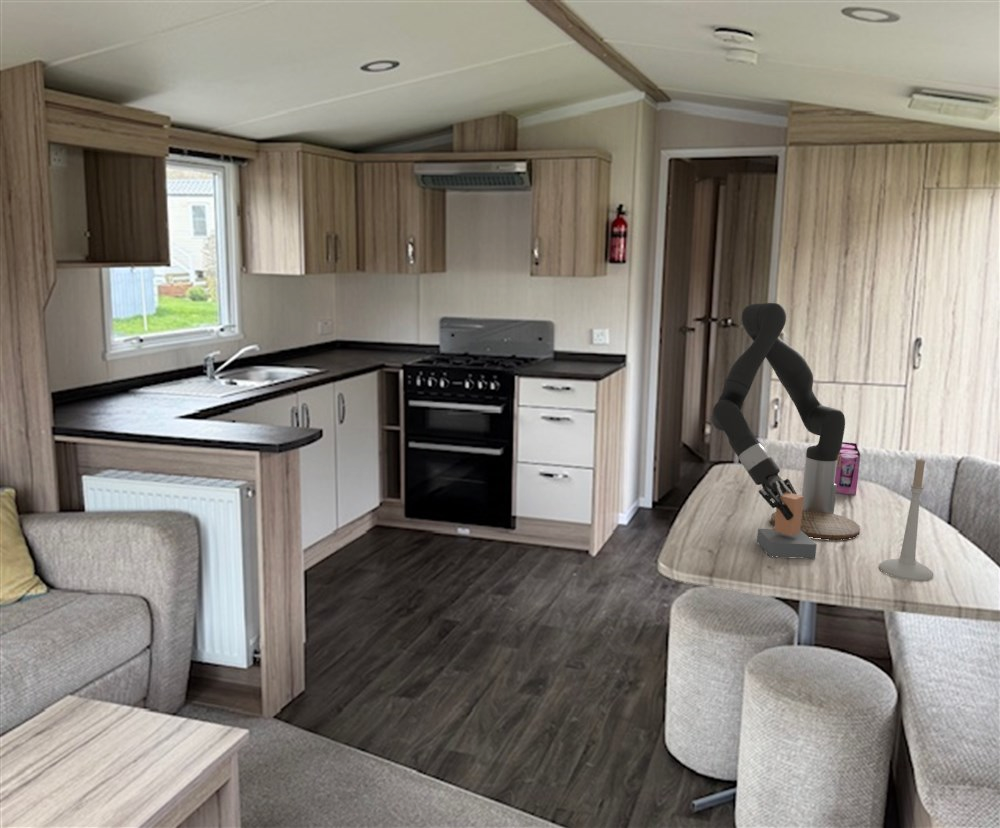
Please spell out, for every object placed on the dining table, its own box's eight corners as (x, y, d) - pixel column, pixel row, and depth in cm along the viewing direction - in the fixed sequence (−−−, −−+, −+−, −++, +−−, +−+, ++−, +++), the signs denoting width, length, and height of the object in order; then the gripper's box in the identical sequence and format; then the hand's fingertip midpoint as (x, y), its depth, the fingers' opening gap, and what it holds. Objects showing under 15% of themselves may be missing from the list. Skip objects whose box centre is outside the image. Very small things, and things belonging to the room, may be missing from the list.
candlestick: (887, 559, 242) (901, 449, 236) (939, 571, 234) (955, 458, 228) (872, 571, 232) (886, 457, 226) (925, 584, 224) (941, 467, 218)
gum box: (856, 496, 304) (861, 457, 302) (831, 493, 307) (836, 454, 304) (852, 479, 327) (857, 443, 324) (829, 477, 329) (833, 440, 327)
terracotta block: (782, 527, 248) (786, 492, 246) (799, 531, 244) (804, 496, 242) (774, 531, 244) (777, 495, 242) (791, 535, 241) (795, 499, 239)
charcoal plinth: (799, 544, 251) (801, 530, 250) (815, 558, 239) (816, 544, 239) (756, 542, 251) (758, 528, 250) (769, 557, 239) (771, 542, 238)
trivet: (866, 545, 254) (867, 539, 253) (774, 536, 258) (775, 529, 258) (851, 519, 278) (851, 513, 278) (766, 511, 283) (767, 505, 282)
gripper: (755, 460, 240) (793, 514, 235) (781, 452, 251) (817, 504, 245) (736, 475, 245) (772, 529, 239) (761, 467, 255) (797, 518, 249)
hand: (795, 516), depth 242 cm, fingers closed on terracotta block, 5 cm apart
